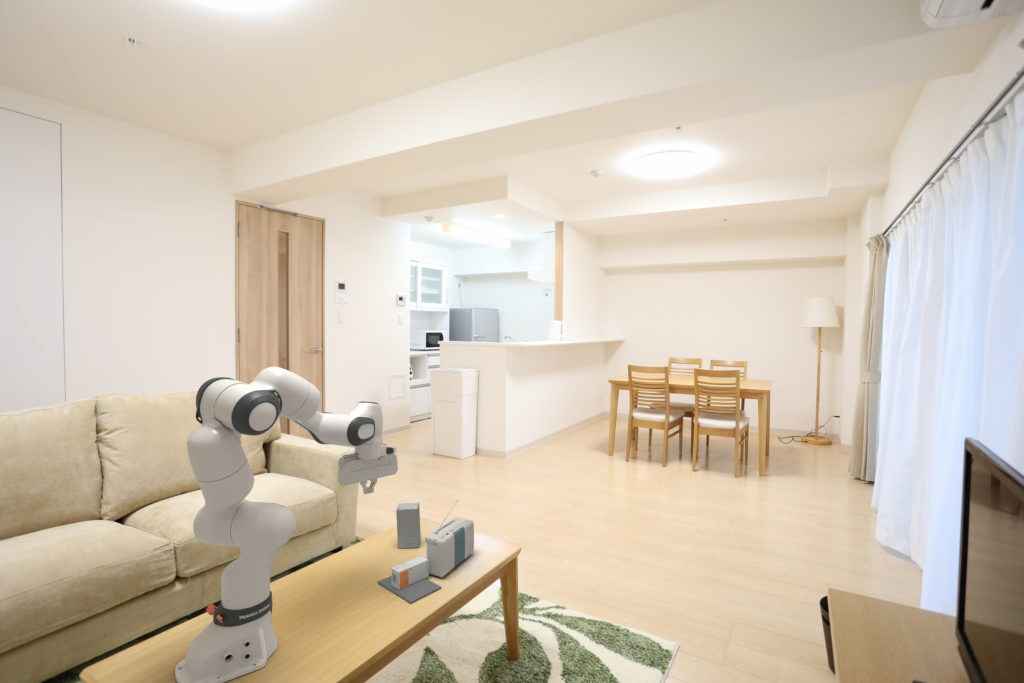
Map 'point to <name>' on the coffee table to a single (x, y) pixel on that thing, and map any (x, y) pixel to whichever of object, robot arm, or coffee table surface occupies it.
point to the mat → (411, 589)
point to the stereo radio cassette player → (449, 545)
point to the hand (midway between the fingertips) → (368, 493)
